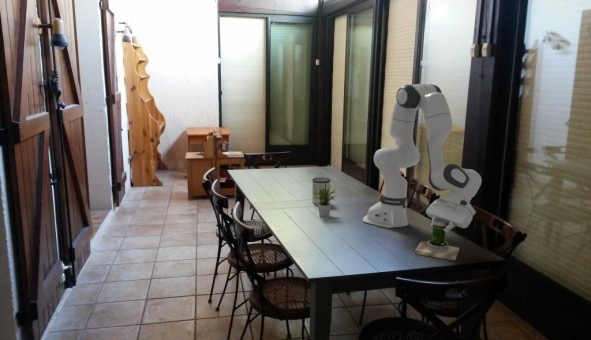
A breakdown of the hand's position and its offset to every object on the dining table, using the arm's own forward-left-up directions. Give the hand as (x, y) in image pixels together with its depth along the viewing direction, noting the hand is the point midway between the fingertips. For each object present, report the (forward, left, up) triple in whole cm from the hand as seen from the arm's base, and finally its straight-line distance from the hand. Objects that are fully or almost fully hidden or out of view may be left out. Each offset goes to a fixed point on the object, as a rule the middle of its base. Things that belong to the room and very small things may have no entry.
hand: (438, 229), depth 195 cm
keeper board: (0, +1, -10) cm, 10 cm away
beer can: (0, +1, -9) cm, 9 cm away
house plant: (-62, +25, -11) cm, 67 cm away
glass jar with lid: (-74, +47, -11) cm, 88 cm away
